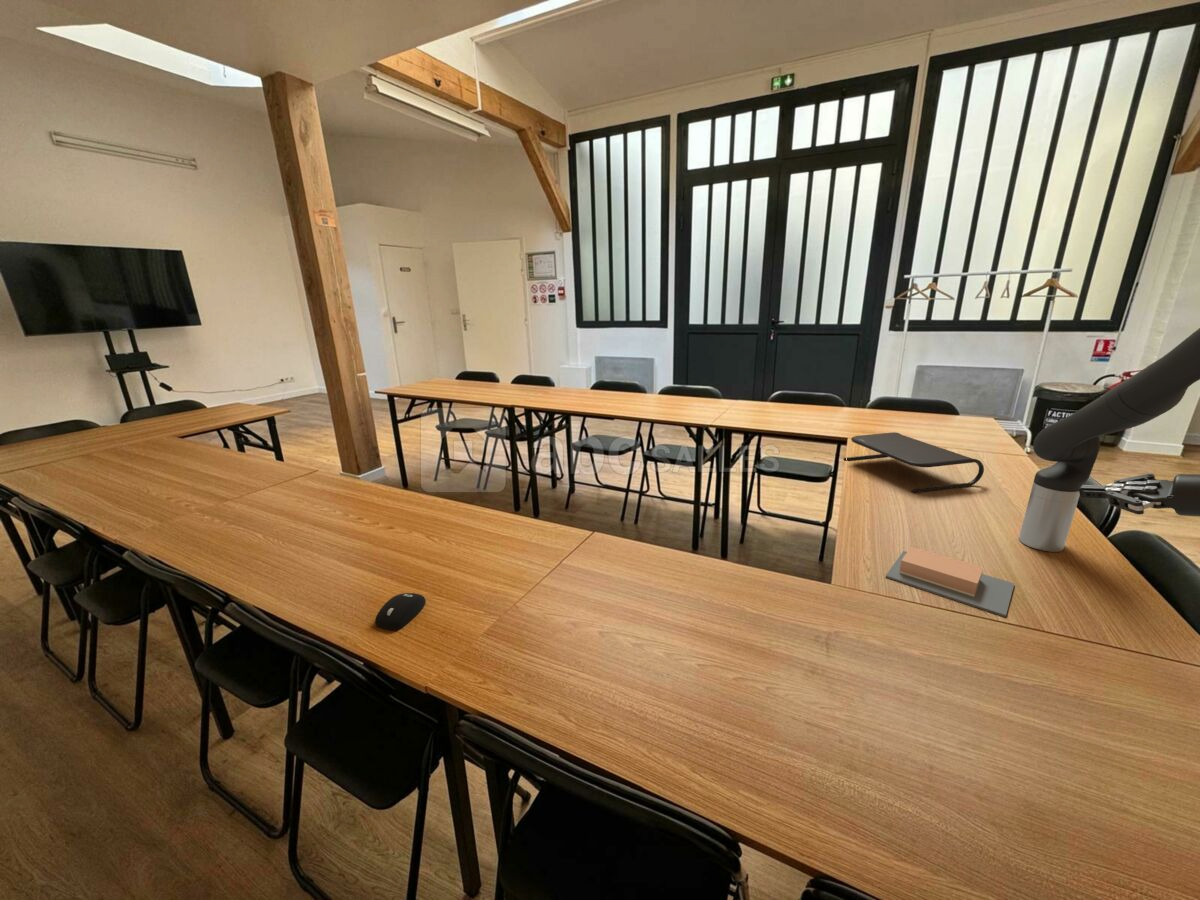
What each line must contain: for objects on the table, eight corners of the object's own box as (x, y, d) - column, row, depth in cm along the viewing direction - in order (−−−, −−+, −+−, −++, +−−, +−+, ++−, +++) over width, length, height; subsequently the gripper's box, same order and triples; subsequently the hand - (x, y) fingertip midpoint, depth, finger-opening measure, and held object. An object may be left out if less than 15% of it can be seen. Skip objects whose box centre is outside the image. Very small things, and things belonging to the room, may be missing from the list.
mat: (903, 552, 128) (903, 550, 128) (1014, 585, 112) (1014, 583, 112) (885, 577, 117) (885, 575, 117) (1005, 617, 102) (1006, 615, 101)
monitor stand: (842, 460, 199) (845, 436, 196) (900, 454, 204) (904, 430, 201) (913, 494, 165) (918, 465, 161) (981, 486, 169) (988, 457, 166)
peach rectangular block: (980, 580, 114) (908, 558, 124) (983, 567, 113) (910, 546, 123) (974, 596, 108) (899, 572, 118) (977, 583, 107) (901, 560, 117)
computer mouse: (433, 601, 114) (431, 587, 113) (398, 634, 103) (395, 618, 102) (408, 596, 116) (406, 582, 115) (371, 627, 106) (368, 612, 104)
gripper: (1220, 460, 85) (1086, 461, 100) (1210, 493, 79) (1068, 489, 93) (1224, 498, 87) (1091, 492, 101) (1215, 533, 80) (1074, 522, 95)
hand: (1080, 491), depth 97 cm, fingers closed
